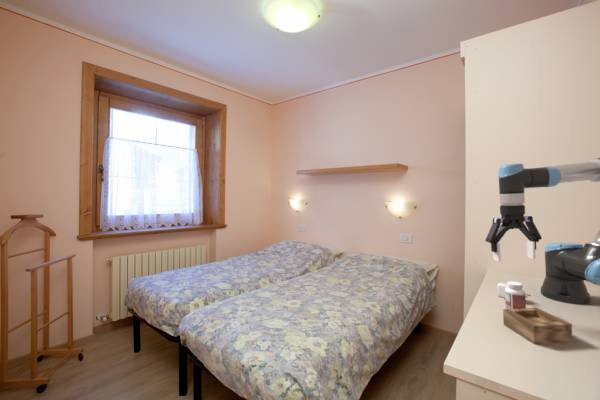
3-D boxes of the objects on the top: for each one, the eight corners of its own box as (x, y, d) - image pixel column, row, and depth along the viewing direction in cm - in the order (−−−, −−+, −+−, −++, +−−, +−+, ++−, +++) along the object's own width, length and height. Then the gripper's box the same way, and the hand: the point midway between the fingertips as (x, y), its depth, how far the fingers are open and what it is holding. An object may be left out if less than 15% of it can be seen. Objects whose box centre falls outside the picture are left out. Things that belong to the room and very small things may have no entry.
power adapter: (532, 303, 109) (532, 289, 109) (525, 305, 107) (525, 291, 107) (502, 294, 120) (502, 281, 119) (496, 296, 118) (495, 283, 117)
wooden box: (536, 322, 94) (536, 307, 94) (572, 341, 82) (571, 324, 82) (503, 324, 94) (503, 309, 94) (534, 344, 82) (533, 326, 82)
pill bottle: (528, 311, 102) (527, 283, 102) (522, 316, 99) (521, 287, 99) (509, 306, 108) (508, 279, 107) (502, 310, 104) (502, 282, 104)
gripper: (534, 202, 106) (536, 254, 107) (473, 206, 105) (475, 259, 106) (553, 202, 99) (555, 259, 99) (487, 207, 98) (489, 264, 98)
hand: (514, 259), depth 103 cm, fingers open, 13 cm apart
